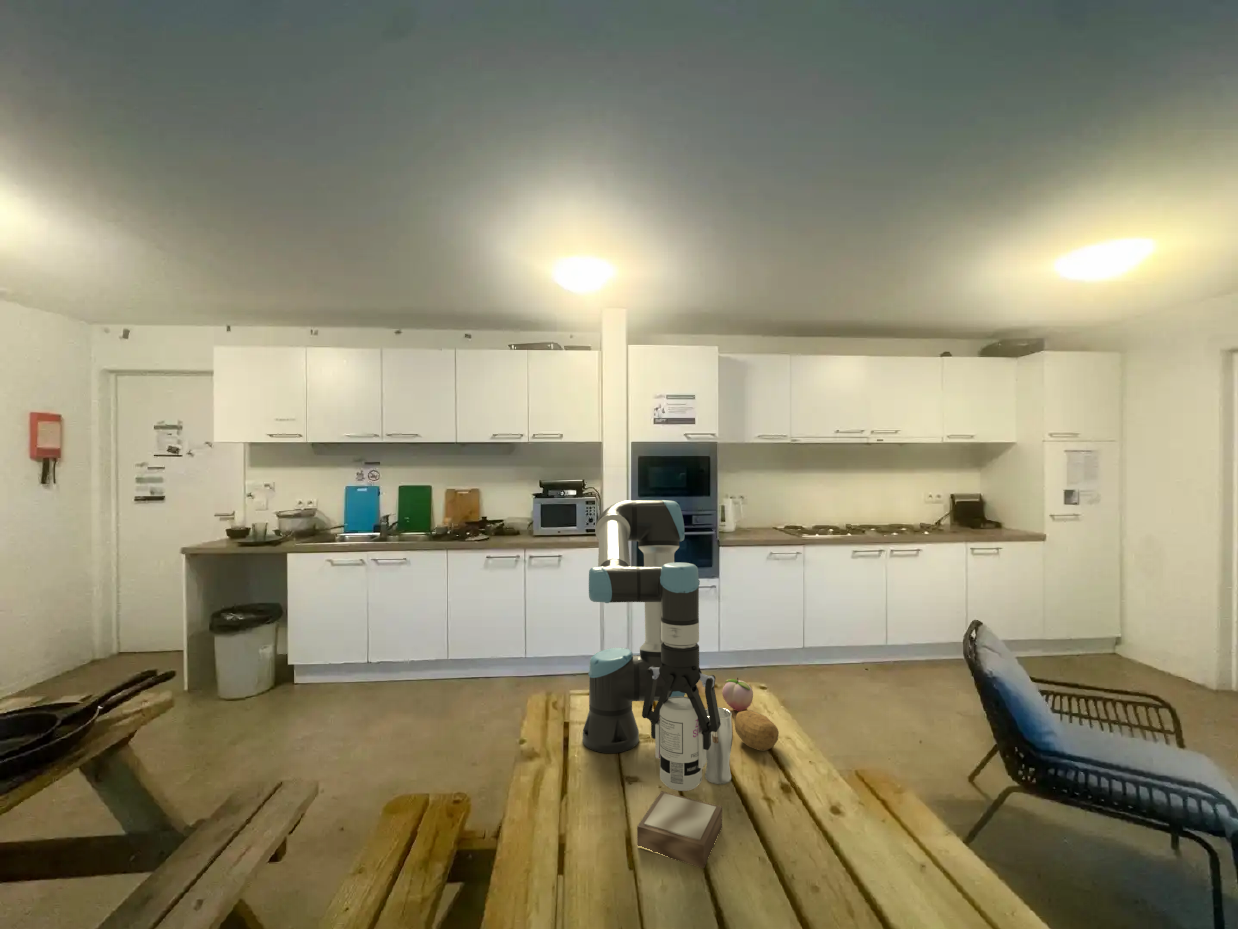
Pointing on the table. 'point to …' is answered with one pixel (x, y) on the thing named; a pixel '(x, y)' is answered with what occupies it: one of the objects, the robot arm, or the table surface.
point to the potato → (756, 730)
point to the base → (680, 828)
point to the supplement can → (679, 744)
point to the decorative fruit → (737, 694)
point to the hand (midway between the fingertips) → (680, 760)
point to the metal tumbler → (720, 750)
